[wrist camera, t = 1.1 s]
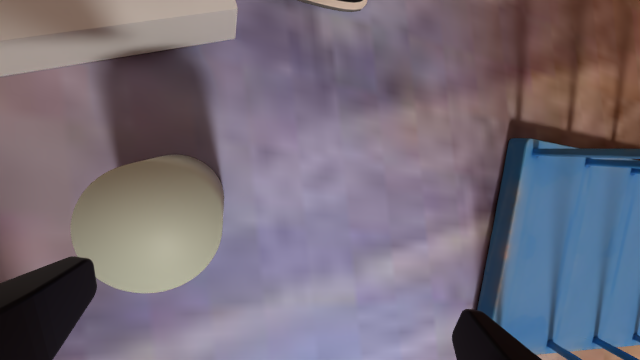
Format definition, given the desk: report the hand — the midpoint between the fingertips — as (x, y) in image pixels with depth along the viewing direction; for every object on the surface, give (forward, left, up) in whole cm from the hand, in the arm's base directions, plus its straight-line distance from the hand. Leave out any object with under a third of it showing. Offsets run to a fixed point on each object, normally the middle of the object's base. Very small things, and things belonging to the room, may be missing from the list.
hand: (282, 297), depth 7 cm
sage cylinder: (-4, +1, -11) cm, 12 cm away
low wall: (-5, +10, -11) cm, 16 cm away
